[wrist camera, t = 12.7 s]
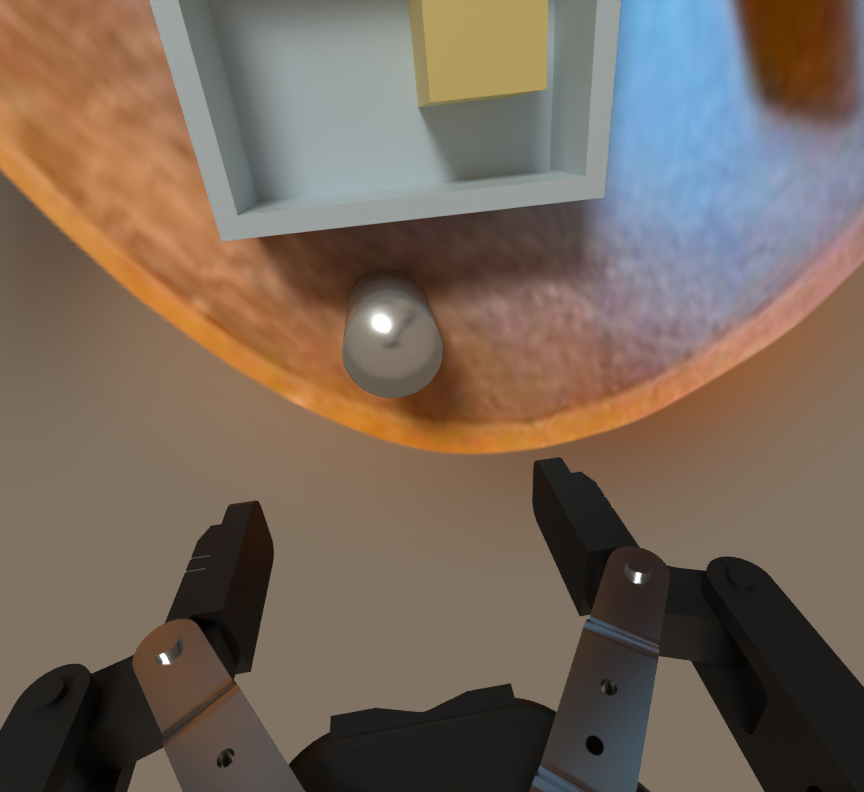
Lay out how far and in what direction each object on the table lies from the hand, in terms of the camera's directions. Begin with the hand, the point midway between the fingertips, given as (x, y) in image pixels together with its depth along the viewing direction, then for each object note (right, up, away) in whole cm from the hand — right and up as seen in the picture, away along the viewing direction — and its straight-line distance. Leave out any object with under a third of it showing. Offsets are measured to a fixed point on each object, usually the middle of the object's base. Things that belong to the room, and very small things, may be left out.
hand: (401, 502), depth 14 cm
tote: (-1, +20, +10) cm, 22 cm away
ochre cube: (+2, +20, +9) cm, 22 cm away
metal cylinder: (-2, +9, +16) cm, 18 cm away
